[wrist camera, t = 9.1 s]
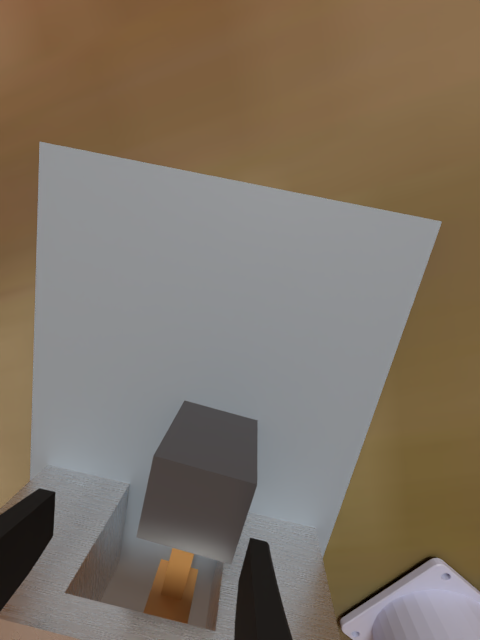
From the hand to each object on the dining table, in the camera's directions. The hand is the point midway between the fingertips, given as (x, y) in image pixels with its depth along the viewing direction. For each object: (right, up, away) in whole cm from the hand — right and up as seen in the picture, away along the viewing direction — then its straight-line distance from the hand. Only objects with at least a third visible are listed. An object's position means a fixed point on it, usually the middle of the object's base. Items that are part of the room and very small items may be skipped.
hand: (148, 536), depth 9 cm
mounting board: (-1, -5, +7) cm, 8 cm away
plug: (+1, -3, +6) cm, 6 cm away
